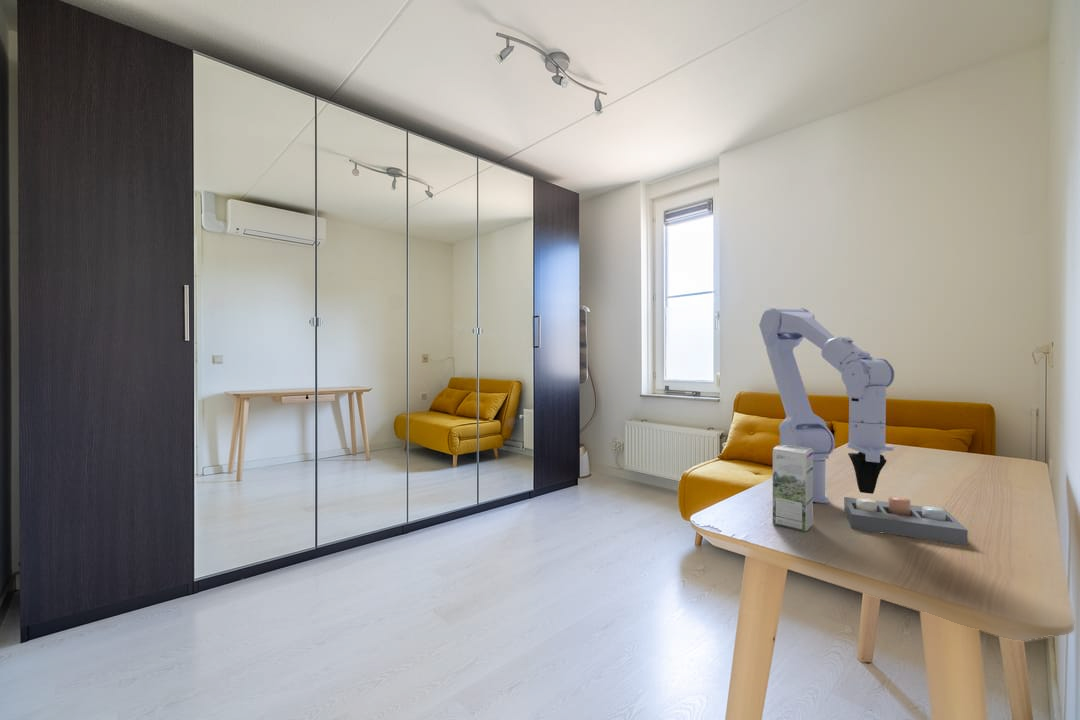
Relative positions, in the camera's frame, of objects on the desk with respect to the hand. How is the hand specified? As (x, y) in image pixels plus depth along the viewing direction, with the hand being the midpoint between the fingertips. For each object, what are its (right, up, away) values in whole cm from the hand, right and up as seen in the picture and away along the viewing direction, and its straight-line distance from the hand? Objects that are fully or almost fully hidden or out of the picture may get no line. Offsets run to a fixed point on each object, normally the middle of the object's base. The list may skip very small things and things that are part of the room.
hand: (866, 492), depth 87 cm
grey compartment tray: (+4, -6, -3) cm, 8 cm away
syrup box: (-15, -6, -2) cm, 16 cm away
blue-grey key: (+9, -4, -5) cm, 11 cm away
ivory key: (0, -4, 0) cm, 4 cm away
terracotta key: (+4, -3, -3) cm, 6 cm away
